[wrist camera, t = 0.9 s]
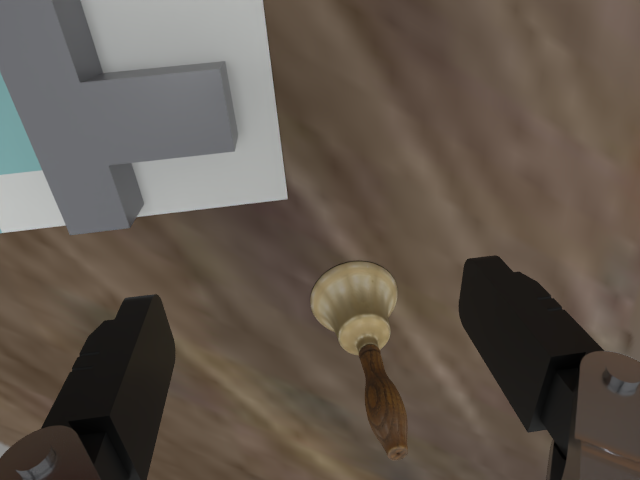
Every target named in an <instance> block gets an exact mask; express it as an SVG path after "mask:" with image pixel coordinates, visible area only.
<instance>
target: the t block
mask: <svg viewBox="0 0 640 480" xmlns="http://www.w3.org/2000/svg"><path fill="white" fill-rule="evenodd" d="M0 73H1V75H2V77H3V80H4V82H5V84H6V87H7V89H8V91H9V94H10V96H11V98H12V101H13V103H14V105H15V108H16V110H17V112H18V115H19V117H20V119H21V122H22V124H23V126H24V129H25V131H26V133H27V136H28V138H29V140H30V143H31V145H32V147H33V150H34V152H35V154H36V157H37V159H38V161H39V164H40V166H41V168H42V171H43V173H44V175H45V178H46V180H47V182H48V185H49V187H50V189H51V192H52V194H53V196H54V199H55V201H56V203H57V206H58V208H59V210H60V213H61V215H62V217H63V220H64V222H65V224H66V227H67V229H68V231H69V234H70V235H76V234H84V233H92V232H100V231H109V230H117V229H125V228H130V227H131V225H132V224H133V222H134V220H135V219H136V217H137V215H138V214H139V212H140V210H141V209H142V207H143V205H144V201H143V198H142V195H141V192H140V189H139V186H138V182H137V179H136V176H135V173H134V170H133V166H132V163H136V162H145V161H154V160H163V159H172V158H181V157H190V156H199V155H208V154H217V153H226V152H235V148H236V143H237V139H238V131H237V125H236V120H235V114H234V108H233V103H232V97H231V91H230V86H229V80H228V74H227V68H226V63H225V61H221V62H211V63H201V64H191V65H180V66H170V67H160V68H150V69H139V70H129V71H119V72H109V73H103V71H102V68H101V65H100V61H99V58H98V55H97V52H96V49H95V46H94V42H93V39H92V36H91V33H90V30H89V26H88V23H87V20H86V17H85V14H84V11H83V7H82V4H81V1H80V0H0Z"/></svg>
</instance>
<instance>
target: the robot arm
mask: <svg viewBox="0 0 640 480" xmlns="http://www.w3.org/2000/svg"><path fill="white" fill-rule="evenodd" d="M459 315H460V319H461V322H462V325H463V327H464V329H465V330H466V332H467V334H468V335H469V337H470V339H471V340H472V342H473V344H474V345H475V347H476V348H477V350H478V352H479V353H480V355H481V357H482V358H483V360H484V362H485V363H486V365H487V366H488V368H489V370H490V371H491V373H492V375H493V376H494V378H495V380H496V381H497V383H498V385H499V386H500V388H501V389H502V391H503V393H504V394H505V396H506V398H507V399H508V401H509V403H510V404H511V406H512V407H513V409H514V411H515V412H516V414H517V416H518V417H519V419H520V421H521V422H522V424H523V425H524V427H525V429H526V430H527V432H534V431H541V430H548V432H549V433H550V435H551V436H552V438H553V440H552V443H551V446H550V452H549V460H548V467H547V475H546V480H640V362H639V361H637V360H635V359H633V358H631V357H629V356H626V355H623V354H620V353H616V352H610V351H604V350H603V349H602V348H601V347H600V346H599V345H598V344H597V343H596V342H595V341H594V340H593V339H592V338H591V337H590V336H589V334H588V333H587V332H586V331H585V330H584V329H583V328H582V327H581V326H580V325H579V324H578V323H577V322H576V321H575V320H574V319H573V318H572V317H571V316H570V315H569V314H568V313H567V312H566V311H565V310H562V307H561V306H560V305H559V304H558V302H557V301H556V300H555V299H554V298H553V299H552V298H551V295H550V294H549V293H548V292H547V291H546V290H545V289H544V288H543V287H542V286H541V285H540V284H539V283H538V282H537V281H535V280H533V279H531V278H529V277H528V276H526V275H524V274H522V273H521V272H513V271H512V270H511V269H510V268H509V267H508V266H507V265H506V264H505V262H504V261H503V260H502V259H501V258H500V257H498V256H487V257H478V258H470V259H467V260H466V262H465V264H464V270H463V277H462V284H461V291H460V299H459ZM174 363H175V343H174V339H173V335H172V332H171V329H170V326H169V323H168V320H167V317H166V313H165V310H164V307H163V304H162V301H161V299H160V297H159V296H158V295H157V294H155V295H147V296H138V297H130V298H125V299H124V301H123V302H122V305H121V307H120V309H119V311H118V313H117V315H116V318H115V320H107V321H104V322H103V323H102V324H101V325H100V326H99V327H98V328H97V329H96V330H95V331H94V332H93V333H91V334H90V335H89V336H88V338H87V340H86V342H85V344H84V346H83V348H82V350H81V352H80V357H78V358H77V360H76V362H75V363H74V365H73V367H72V372H70V373H69V375H68V377H67V379H66V381H65V383H64V385H63V387H62V389H61V391H60V393H59V395H58V397H57V398H56V400H55V402H54V404H53V406H52V408H51V410H50V412H49V414H48V416H47V418H46V420H45V422H44V424H43V426H42V428H41V429H39V430H37V431H34V432H32V433H30V434H29V435H27V436H25V437H24V438H22V439H20V440H19V441H18V442H16V443H15V444H14V445H13V446H11V447H10V448H9V449H8V450H7V451H6V452H5V453H4V454H3V456H2V457H1V458H0V480H147V476H148V472H149V468H150V463H151V459H152V455H153V451H154V447H155V443H156V438H157V434H158V430H159V426H160V422H161V418H162V414H163V409H164V405H165V401H166V397H167V393H168V389H169V384H170V380H171V376H172V372H173V368H174Z"/></svg>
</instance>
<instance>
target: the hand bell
mask: <svg viewBox="0 0 640 480" xmlns="http://www.w3.org/2000/svg"><path fill="white" fill-rule="evenodd" d="M397 291H398V290H397V285H396V282H395V280H394V278H393V277H392V275H391V274H390V273H389V272H388V271H387V270H385V269H384V268H382V267H381V266H378V265H376V264H374V263H370V262H363V261H354V262H348V263H344V264H341V265H338V266H336V267H334V268H332V269H330V270H329V271H327V272H326V273H324V274H323V275H322V276H321V277H320V278H319V280H318V281H317V283H316V284H315V286H314V288H313V290H312V293H311V297H310V304H311V309H312V312H313V314H314V316H315V318H316V319H317V320H318V321H319V322H320V323H321V324H322V325H323V326H324V327H326V328H328V329H329V330H331V331H334V332H335V333H336V335H337V338H338V340H339V343H340V345H341V346H342V348H343V349H344V350H346V351H347V352H349V353H351V354H354V355H359V358H360V360H361V364H362V367H363V370H364V373H365V377H366V387H365V406H366V412H367V416H368V420H369V423H370V426H371V428H372V430H373V432H374V434H375V436H376V437H377V439H378V440H379V442H380V443H381V444H382V446H383V448H384V449H385V451H386V453H387V455H388V457H389V458H390V459H392V460H400V459H403V458H404V457H405V456H406V455H407V454H408V448H407V415H406V411H405V407H404V404H403V401H402V399H401V397H400V394H399V392H398V391H397V389H396V387H395V386H394V384H393V383H392V381H391V380H390V379H389V378H388V376H387V374H386V372H385V370H384V366H383V362H382V358H381V355H380V354H381V353H380V349H381V348H383V347H384V346H385V344H386V343H387V342H388V340H389V337H390V326H389V320H388V317H389V316H390V314H391V313H392V311H393V309H394V307H395V304H396V301H397V295H398V292H397Z"/></svg>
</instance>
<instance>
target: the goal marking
mask: <svg viewBox="0 0 640 480" xmlns="http://www.w3.org/2000/svg"><path fill="white" fill-rule="evenodd" d="M40 170H42V168H41V166H40V164H39V161H38V159H37V157H36V154H35V152H34V150H33V147H32V145H31V143H30V140H29V138H28V136H27V133H26V131H25V129H24V126H23V124H22V122H21V119H20V117H19V115H18V112H17V110H16V108H15V105H14V103H13V101H12V98H11V96H10V94H9V91H8V89H7V87H6V84H5V82H4V80H3V77H2V75H1V73H0V175H4V174H13V173H22V172H31V171H40ZM0 233H2V231H1V229H0Z"/></svg>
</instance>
